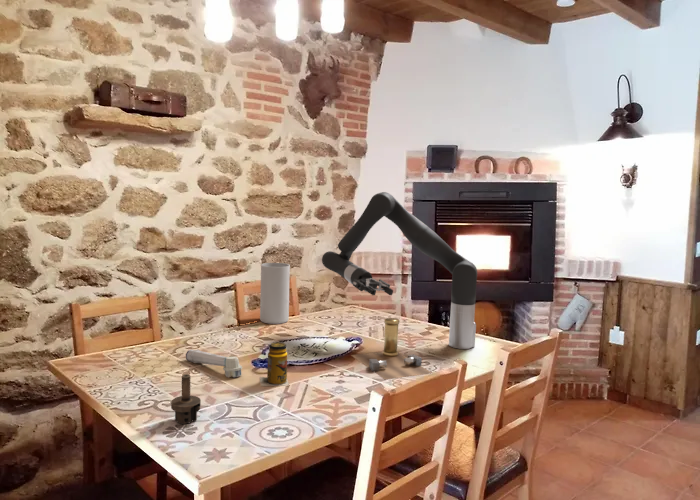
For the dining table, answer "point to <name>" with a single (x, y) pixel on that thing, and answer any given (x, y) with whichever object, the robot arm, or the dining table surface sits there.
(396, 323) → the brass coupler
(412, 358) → the shaft
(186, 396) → the industrial component
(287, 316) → the cylinder vase
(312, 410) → the dining table surface
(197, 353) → the grey lever handle
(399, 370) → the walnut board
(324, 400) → the dining table surface
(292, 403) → the dining table surface
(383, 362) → the shaft
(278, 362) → the condiment
